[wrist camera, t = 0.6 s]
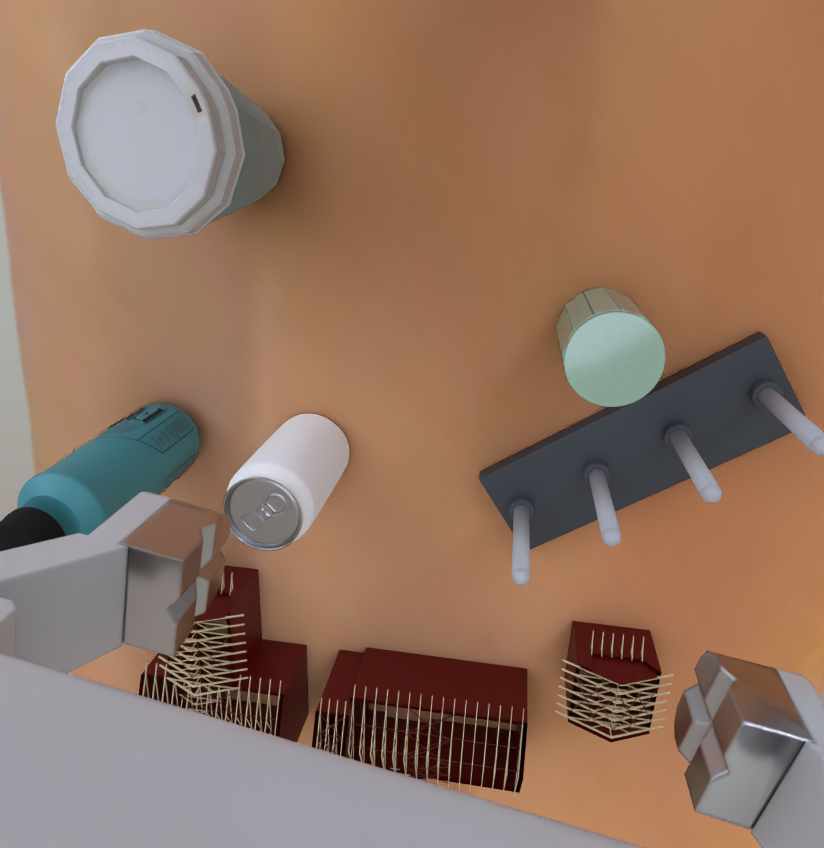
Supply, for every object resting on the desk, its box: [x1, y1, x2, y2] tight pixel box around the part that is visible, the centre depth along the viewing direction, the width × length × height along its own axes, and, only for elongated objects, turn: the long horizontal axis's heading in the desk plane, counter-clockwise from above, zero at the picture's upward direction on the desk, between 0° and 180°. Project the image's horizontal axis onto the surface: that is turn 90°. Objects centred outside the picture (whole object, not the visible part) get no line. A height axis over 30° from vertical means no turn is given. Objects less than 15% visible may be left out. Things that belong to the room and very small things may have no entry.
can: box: [223, 414, 349, 551], centre depth 51 cm, size 6×6×12 cm
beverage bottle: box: [0, 403, 200, 551], centre depth 48 cm, size 6×7×20 cm
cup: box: [556, 287, 666, 407], centre depth 45 cm, size 6×6×9 cm
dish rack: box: [479, 332, 824, 585], centre depth 46 cm, size 23×8×12 cm, turn 122°
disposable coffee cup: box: [56, 29, 285, 240], centre depth 42 cm, size 11×11×15 cm
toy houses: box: [139, 566, 674, 798], centre depth 58 cm, size 45×20×10 cm, turn 88°
